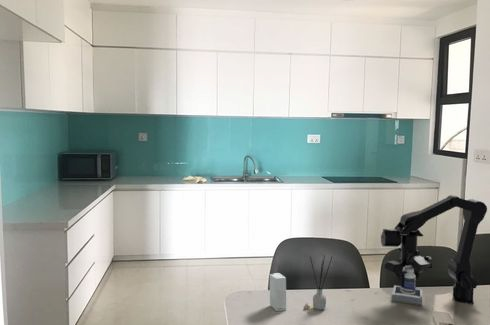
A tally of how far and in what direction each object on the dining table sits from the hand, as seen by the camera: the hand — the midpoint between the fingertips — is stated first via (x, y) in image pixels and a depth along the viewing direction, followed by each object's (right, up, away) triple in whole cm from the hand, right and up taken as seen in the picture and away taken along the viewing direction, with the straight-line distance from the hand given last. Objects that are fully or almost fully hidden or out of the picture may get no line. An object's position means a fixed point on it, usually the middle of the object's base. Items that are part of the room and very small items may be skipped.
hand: (408, 285), depth 155 cm
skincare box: (-52, -5, -10) cm, 53 cm away
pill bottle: (0, -3, 0) cm, 3 cm away
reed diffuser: (-37, -5, -11) cm, 39 cm away
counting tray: (0, -5, 0) cm, 5 cm away
